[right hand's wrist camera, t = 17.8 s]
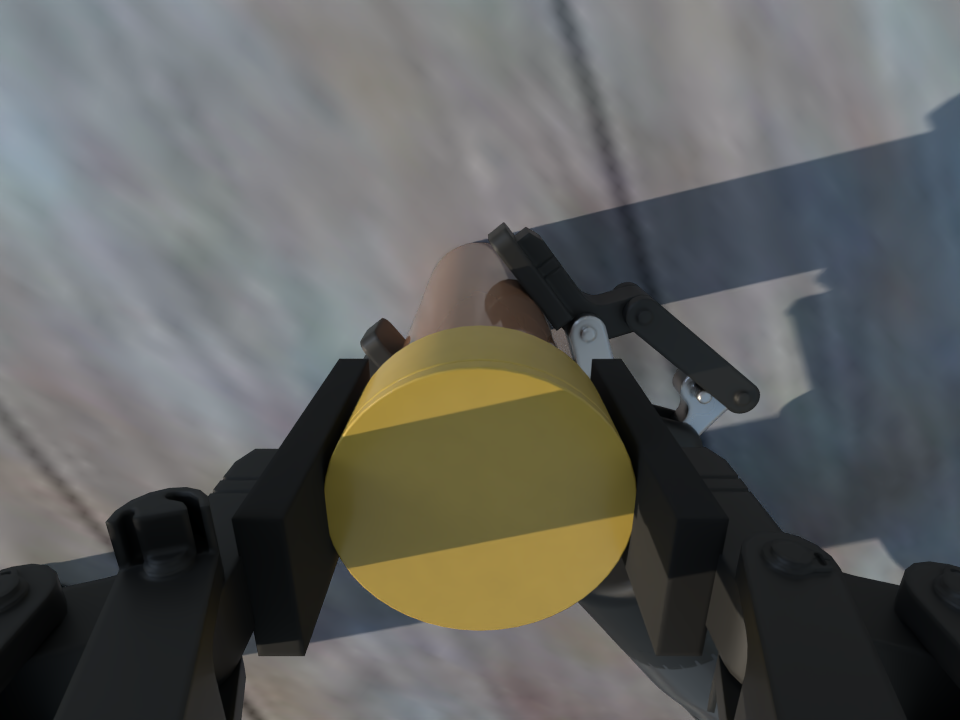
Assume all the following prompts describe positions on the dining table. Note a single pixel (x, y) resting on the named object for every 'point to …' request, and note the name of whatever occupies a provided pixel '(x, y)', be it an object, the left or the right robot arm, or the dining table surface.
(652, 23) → the dining table surface
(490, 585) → the lid
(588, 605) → the left robot arm
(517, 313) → the jar
